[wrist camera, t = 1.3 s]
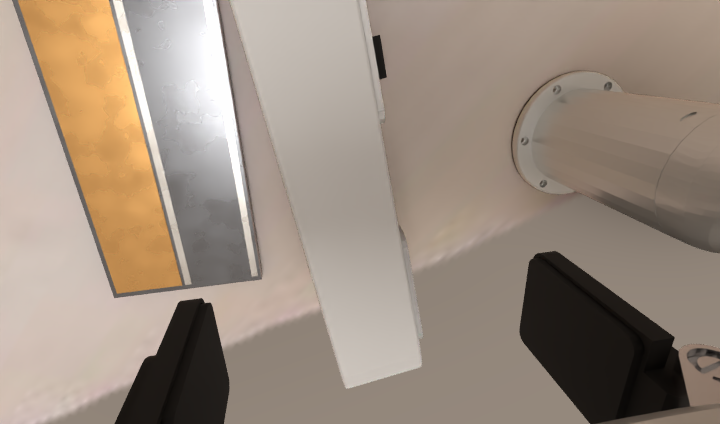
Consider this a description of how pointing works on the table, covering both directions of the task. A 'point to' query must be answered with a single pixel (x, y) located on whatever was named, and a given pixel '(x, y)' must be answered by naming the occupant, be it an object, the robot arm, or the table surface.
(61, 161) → the table surface
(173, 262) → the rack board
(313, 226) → the rounded white slab
